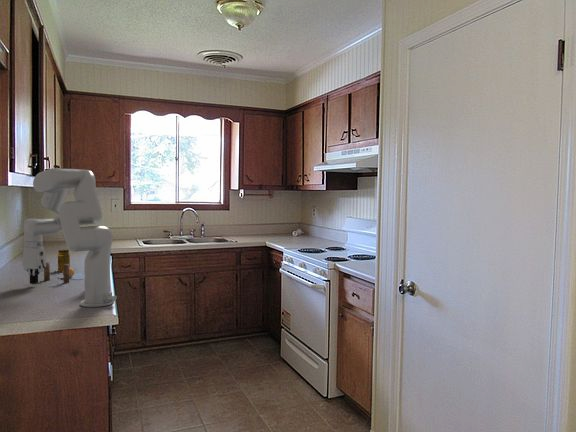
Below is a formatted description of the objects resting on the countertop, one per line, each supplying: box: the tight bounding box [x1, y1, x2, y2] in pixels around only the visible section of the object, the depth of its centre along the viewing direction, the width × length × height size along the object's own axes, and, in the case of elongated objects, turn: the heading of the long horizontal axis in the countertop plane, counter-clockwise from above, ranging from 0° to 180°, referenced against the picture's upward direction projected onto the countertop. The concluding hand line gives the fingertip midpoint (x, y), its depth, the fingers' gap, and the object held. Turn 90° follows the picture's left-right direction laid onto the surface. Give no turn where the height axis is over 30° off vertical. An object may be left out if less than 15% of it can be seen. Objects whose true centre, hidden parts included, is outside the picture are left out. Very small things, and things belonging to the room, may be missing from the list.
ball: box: [69, 267, 75, 278], centre depth 231 cm, size 6×6×6 cm
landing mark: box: [56, 272, 85, 281], centre depth 234 cm, size 14×14×1 cm
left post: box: [43, 261, 51, 282], centre depth 223 cm, size 3×3×9 cm
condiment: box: [57, 249, 71, 273], centre depth 251 cm, size 7×8×12 cm
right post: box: [62, 264, 70, 284], centre depth 219 cm, size 3×3×9 cm
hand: (34, 283), depth 209 cm, fingers closed
